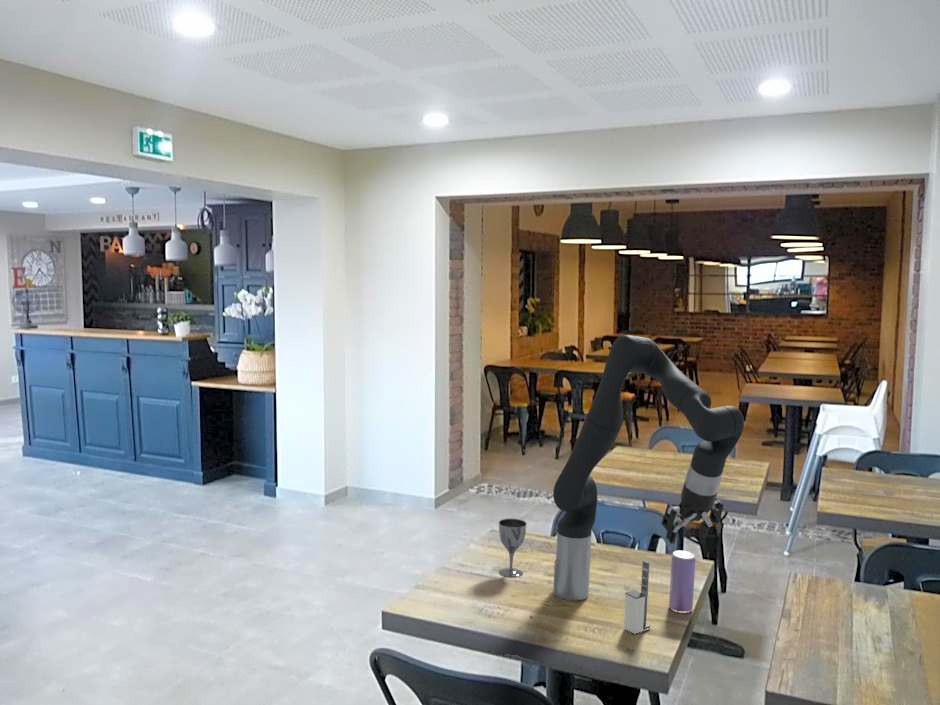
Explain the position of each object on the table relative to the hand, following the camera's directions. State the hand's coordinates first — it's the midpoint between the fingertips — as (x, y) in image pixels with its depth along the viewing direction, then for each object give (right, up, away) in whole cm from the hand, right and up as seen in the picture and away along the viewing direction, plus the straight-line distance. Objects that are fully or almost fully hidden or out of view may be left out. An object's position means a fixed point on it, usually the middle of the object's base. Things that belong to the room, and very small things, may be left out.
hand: (686, 538), depth 178 cm
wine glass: (-39, -20, +41) cm, 61 cm away
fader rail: (-8, -24, +9) cm, 27 cm away
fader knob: (-11, -24, +7) cm, 28 cm away
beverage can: (+4, -24, +20) cm, 31 cm away
